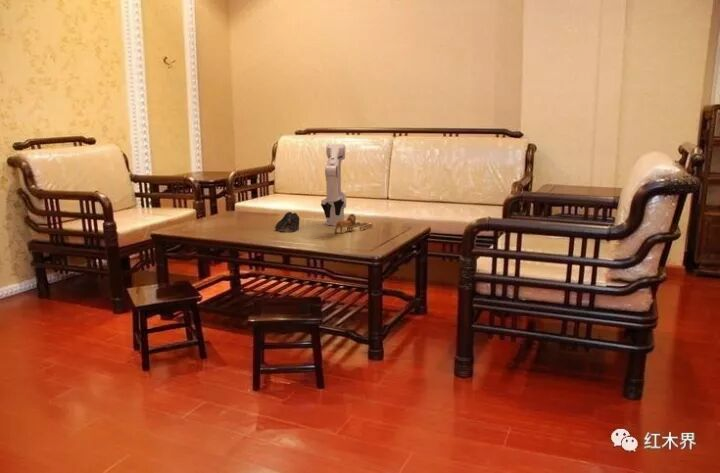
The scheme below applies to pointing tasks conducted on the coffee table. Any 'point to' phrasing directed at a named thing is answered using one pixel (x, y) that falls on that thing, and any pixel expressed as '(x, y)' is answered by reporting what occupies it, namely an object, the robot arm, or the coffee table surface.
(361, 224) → the wooden frame
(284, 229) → the crystal cluster
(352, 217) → the lion figurine
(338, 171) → the robot arm
